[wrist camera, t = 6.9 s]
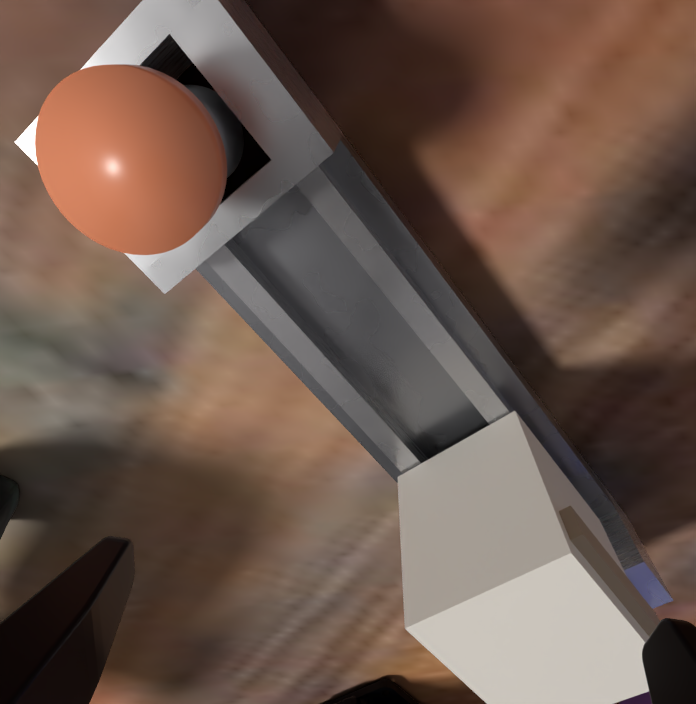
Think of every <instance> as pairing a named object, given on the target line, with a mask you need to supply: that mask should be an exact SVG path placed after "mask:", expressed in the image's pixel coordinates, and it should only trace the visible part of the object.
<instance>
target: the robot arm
mask: <svg viewBox="0 0 696 704" xmlns="http://www.w3.org/2000/svg"><path fill="white" fill-rule="evenodd" d="M134 574H135V568H134V546H133V542H132V540H131V539H128V538H121V537H114V536H108V537H105V538H104V539H102V540H101V541H100V542H99V543H97V544H96V545H95V546H94V547H92V548H91V549H90V550H89V551H88V552H86V553H85V554H84V555H83V556H82V557H80V558H79V559H78V560H77V561H75V562H74V563H73V564H72V565H71V566H69V567H68V568H67V569H66V570H64V571H63V572H62V573H61V574H60V575H58V576H57V577H56V578H55V579H54V580H52V581H51V582H50V583H49V584H47V585H46V586H45V587H44V588H43V589H41V590H40V591H39V592H38V593H37V594H35V595H34V596H33V597H32V598H30V599H29V600H28V601H27V602H26V603H24V604H23V605H22V606H21V607H19V608H18V609H17V610H16V611H15V612H13V613H12V614H11V615H10V616H9V617H7V618H6V619H5V620H4V621H2V622H1V623H0V704H89V703H90V700H91V698H92V696H93V694H94V691H95V689H96V687H97V684H98V682H99V680H100V677H101V674H102V671H103V669H104V666H105V663H106V660H107V657H108V654H109V651H110V649H111V646H112V643H113V640H114V637H115V634H116V631H117V628H118V625H119V623H120V620H121V617H122V614H123V611H124V608H125V605H126V602H127V599H128V596H129V594H130V591H131V588H132V584H133V580H134ZM642 661H643V666H644V671H645V675H646V680H647V684H648V688H649V693H650V697H651V702H652V704H696V627H695V626H694V625H693V624H691V623H690V622H687V621H684V620H677V619H670V618H665V619H663V620H661V621H660V622H659V624H658V625H657V627H656V628H655V629H654V631H653V632H652V634H651V635H650V637H649V638H648V639H647V641H646V642H645V644H644V646H643V649H642ZM326 704H419V703H417V702H416V701H415V700H414V699H413V698H412V697H410V696H409V695H408V694H407V693H406V692H405V691H403V690H402V689H401V688H400V687H399V686H397V685H396V684H395V683H394V682H392V681H391V680H380V681H378V682H376V683H373V684H371V685H369V686H366V687H364V688H361V689H359V690H357V691H354V692H352V693H350V694H347V695H345V696H343V697H340V698H338V699H336V700H333V701H331V702H329V703H326Z"/></svg>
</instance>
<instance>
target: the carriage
mask: <svg viewBox="0 0 696 704" xmlns="http://www.w3.org/2000/svg"><path fill="white" fill-rule="evenodd" d="M398 498H399V518H400V539H401V559H402V580H403V600H404V621H405V629H406V630H407V631H408V632H409V633H410V634H411V635H412V636H414V637H415V638H416V639H417V640H418V641H419V642H420V643H421V644H422V645H423V646H424V647H426V648H427V649H428V650H429V651H430V652H431V653H432V654H433V655H434V656H435V657H436V658H438V659H439V660H440V661H441V662H442V663H443V664H444V665H445V666H446V667H447V668H448V669H450V670H451V671H452V672H453V673H454V674H455V675H456V676H457V677H458V678H459V679H460V680H462V681H463V682H464V683H465V684H466V685H467V686H468V687H469V688H470V689H471V690H472V691H474V692H475V693H476V694H477V695H478V696H479V697H480V698H481V699H482V700H483V701H484V702H486V703H487V704H614V703H617V702H620V701H623V700H626V699H628V698H631V697H634V696H637V695H640V694H643V693H646V692H648V691H649V688H648V684H647V680H646V675H645V671H644V666H643V661H642V649H643V646H644V644H645V642H646V641H647V639H648V638H649V637H650V635H651V634H652V632H653V631H654V629H655V628H656V627H657V625H658V624H659V622H660V621H659V619H658V617H657V615H656V613H655V612H654V610H653V609H652V608H651V607H650V605H649V604H648V603H647V602H646V600H645V599H644V598H643V597H642V595H641V594H640V593H639V591H638V590H637V589H636V588H635V586H634V585H633V584H632V583H631V581H630V580H629V579H628V578H627V576H626V574H625V572H624V570H623V568H622V565H621V563H620V561H619V559H618V557H617V555H616V553H615V551H614V549H613V547H612V545H611V543H610V541H609V539H608V536H607V534H606V532H605V530H604V528H603V526H602V524H601V522H600V520H599V519H598V517H597V516H596V515H595V513H594V512H593V511H592V510H591V508H590V507H589V506H588V504H587V503H586V502H585V500H584V499H583V498H582V497H581V495H580V494H579V493H578V491H577V490H576V489H575V487H574V486H573V485H572V484H571V482H570V481H569V480H568V478H567V477H566V476H565V475H564V473H563V472H562V471H561V469H560V468H559V467H558V465H557V464H556V463H555V462H554V460H553V459H552V458H551V456H550V455H549V454H548V452H547V451H546V450H545V449H544V447H543V446H542V445H541V443H540V442H539V441H538V439H537V438H536V437H535V436H534V434H533V433H532V432H531V430H530V429H529V428H528V427H527V425H526V424H525V423H524V421H523V420H522V419H521V417H520V416H519V415H518V414H517V412H516V411H513V412H512V413H510V414H508V415H506V416H504V417H503V418H501V419H499V420H497V421H496V422H494V423H492V424H490V425H489V426H487V427H485V428H483V429H481V430H480V431H478V432H476V433H474V434H473V435H471V436H469V437H467V438H466V439H464V440H462V441H460V442H459V443H457V444H455V445H453V446H451V447H450V448H448V449H446V450H444V451H443V452H441V453H439V454H437V455H436V456H434V457H432V458H430V459H428V460H427V461H425V462H423V463H421V464H420V465H418V466H416V467H414V468H413V469H411V470H409V471H407V472H405V473H404V474H402V475H400V476H398Z"/></svg>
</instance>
